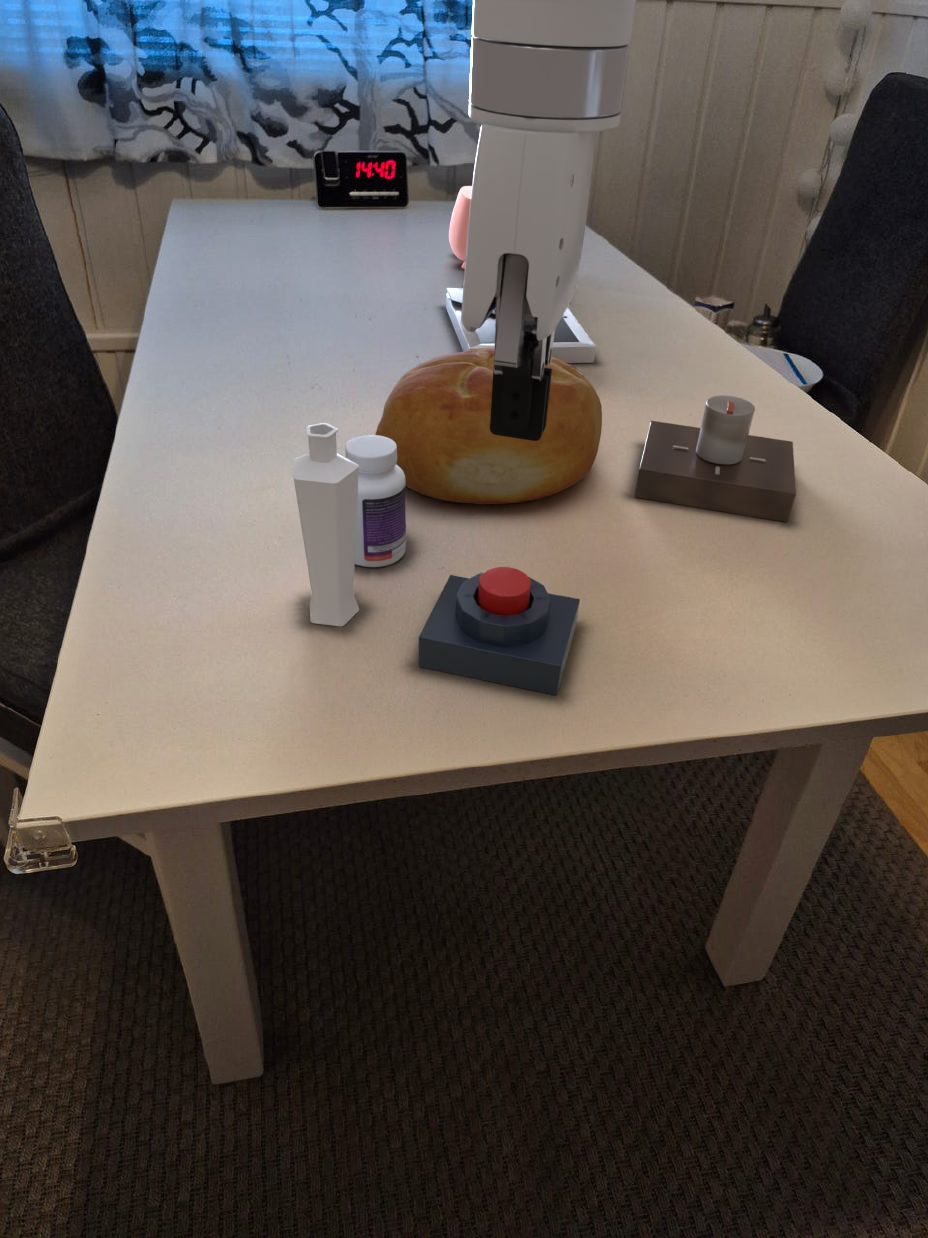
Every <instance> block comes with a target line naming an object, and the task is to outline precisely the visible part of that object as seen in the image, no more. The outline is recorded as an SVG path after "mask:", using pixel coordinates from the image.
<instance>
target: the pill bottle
mask: <svg viewBox="0 0 928 1238" xmlns="http://www.w3.org/2000/svg"><path fill="white" fill-rule="evenodd" d="M344 447H345V448H344V449H345V450H344V451H345V455H344V456H345V458H347V459H349V460H350V461H352V462H354V463H356V464H358V465H359V474H358V497H357V520H356V544H355V565H356V566H360V567H365V568H381V567H382V568H383V567H386V566H390V565H392V564H395V563H396V562H398V561H399V560H400V559H402V557H403V556H404V555H405V553H406V551H407V510H406V508H407V504H406V503H407V500H406V499H407V498H406V493H407V491H406V490H407V486H406V482H405V475H404V472H403V471H402V469H401V468H400V467H399V466H398V465H396V463H397V446H396V443H395V442H394V441H393V440H392V439H390V438H387V437H384V436H379V435H375V434H363V435H357V436H355V437H353V438H351V439H349V440H348V441H347V442H346V443H345V445H344Z"/></svg>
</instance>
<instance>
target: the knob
mask: <svg viewBox="0 0 928 1238" xmlns="http://www.w3.org/2000/svg"><path fill="white" fill-rule="evenodd" d="M755 411H756V407H755V405H754V404H753V403H752V402H750V401H749V400H747V399H744V398H742V397H738V396H733V395H715V396H714V395H713V396H710V397H709V398H708V399H707V400H706V402H705V407H704V411H703V415H702V419H701V424H700V427H699V428H700V433H699V437H698V442H697V446H696V453H697V455H698V456H699V457H701V458H702V459H704V460H706V461H708V462H711V463H716V464H723V465H729V464H735V463H738V462H740V461H741V460H742V458H743V454H744V450H745V446H746V442H747V438H748V435H750V430H751V427H752V422H753V418H754V415H755Z"/></svg>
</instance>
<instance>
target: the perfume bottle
mask: <svg viewBox="0 0 928 1238" xmlns="http://www.w3.org/2000/svg"><path fill="white" fill-rule="evenodd" d="M338 431H339V429H338V428H337V427H335V426H334V425H332V424H331V423H328V422H320V423H314V424H309V425H306V426H305V434H306V436H307V439H308V450H309V451H308V452H309V453H306V454H303V455H300V456H298V457H295V458H293V460H292V467H293V468H292V473H293V476H292V477H293V483H294V490H295V495H296V500H297V502H296V503H297V508H298V515H299V521H300V528H301V533H302V539H303V546H304V553H305V558H306V564H307V571H308V578H309V584H310V591H311V595H310V602H309V622H310V623H312V624H318V625H325V626H334V627H343V626H345V625H347V623H348V622H349V621H350V620H351V619H353V617H355V615H357V613H359V611H360V608H359V605H358V602H357V600H356V597H355V594H354V589H355V588H354V587H355V567H356V564H355V544H356V520H357V497H358V474H359V465H358V464H356V463H354V462H352V461H350V460H349V459H347V458H346V456H343V455H342V454H339V453H338V447H337V446H338V445H337V433H338Z"/></svg>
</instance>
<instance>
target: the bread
mask: <svg viewBox="0 0 928 1238" xmlns="http://www.w3.org/2000/svg"><path fill="white" fill-rule="evenodd" d="M494 352H495V348H490V347H485V348H479V349H473V350H469V351H464V352H463V351H460V352H453V353H452V352H451V353H447V354H443V355H439V356H436V357H434V358H433V357H432V358H431V359H429V360H426V361H424V362H421V363H419V364H417V365H416V366H414V367H413V368H411V369H410V370H409V371H407V372H406V373H405V374H403V375H402V376H401V377H400V379H399V380H398V381H397V382H396V384H395V386H393V388H392V390H391V391H390V393H389V394H388V396H387V398H386V399H385V400H386V401H385V402H384V406H383V411H382V415H381V418H380V420H379V422H378V424H377V428H376V431H375V434H374V435H379V436H384V437H387V438H390V439H392V440H393V441H394V442H395V443H396V446H397V463H396V465H398V466H399V467H400V468H401V469H402V471H403V472H404V475H405V482H406V488H409V489H410V490H413V491H415V492H417V493H419V494H421V495H423V496H426V497H428V498H432V499H435V500H436V499H437V500H441V501H445V502H453V503H462V504H472V505H473V504H475V505H503V504H514V503H516V504H517V503H524V502H530V501H535V500H539V499H542V498H546V497H549V496H552V495H555V494H558V493H560V492H562V491H565V490H566V489H568V488H571V487H572V486H574V485H575V484H577V483H578V482H580V481H581V480H583V478H585V477H586V476H587V474H588V473H589V472H590V471H591V469H592V467H593V465H594V464H595V462H596V460H597V459H596V458H597V455H598V451H599V447H600V443H601V436H602V429H603V411H602V410H603V409H602V407H603V406H602V402H601V398H600V397H599V395H598V392H597V391H596V389H595V387H594V385H593V384H592V383H591V382H590V381H589V380H588V378H587V377H586V376H585V375H584V374H583V373H582V372H581V371H579V370H578V369H576V368H574V367H573V366H572V365H570V363H565V362H564V361H562V360H559V359H557V358H554V357H551V362H550V365H549V366H545V367H544V368H550V369H552V375H551V384H550V394H549V403H548V413H547V422H546V427H545V430H544V431H543V434H542V436H541V438H540V439H539V440H538V441H531V440H525V439H519V438H512V437H506V436H499V435H494V434H493V433H491V431H490V416H491V400H492V384H493V371H494Z"/></svg>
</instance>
